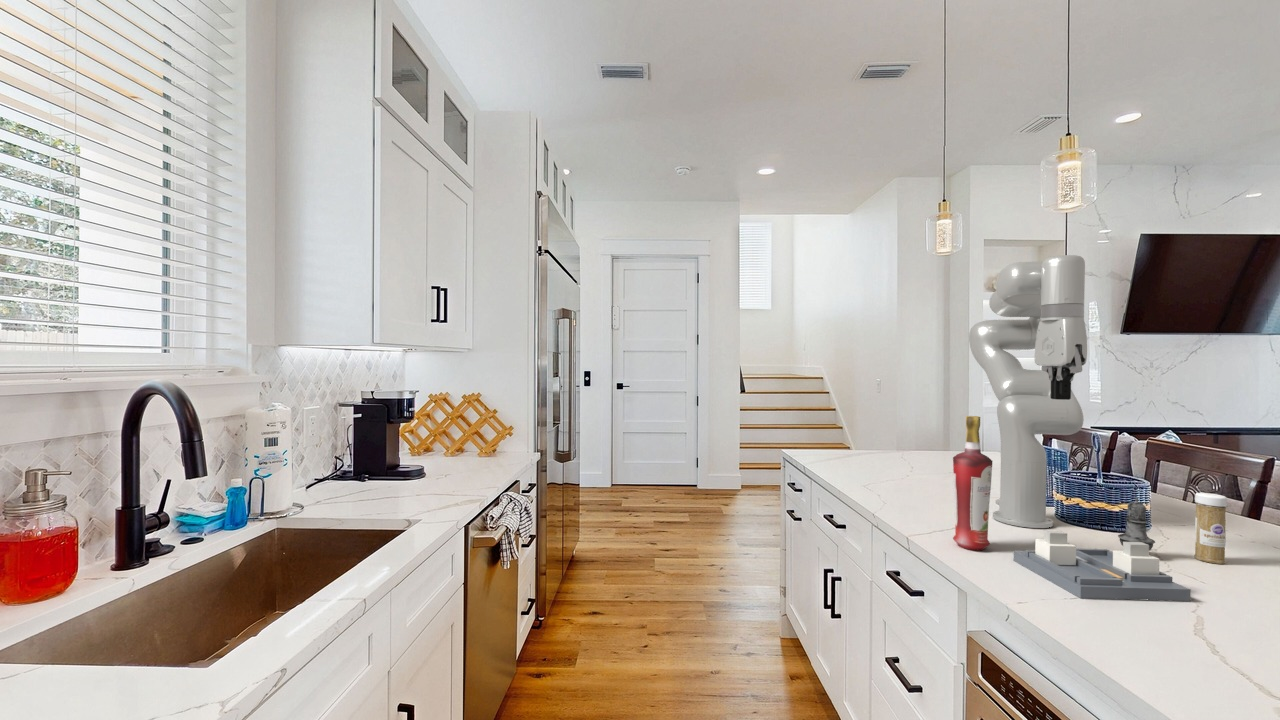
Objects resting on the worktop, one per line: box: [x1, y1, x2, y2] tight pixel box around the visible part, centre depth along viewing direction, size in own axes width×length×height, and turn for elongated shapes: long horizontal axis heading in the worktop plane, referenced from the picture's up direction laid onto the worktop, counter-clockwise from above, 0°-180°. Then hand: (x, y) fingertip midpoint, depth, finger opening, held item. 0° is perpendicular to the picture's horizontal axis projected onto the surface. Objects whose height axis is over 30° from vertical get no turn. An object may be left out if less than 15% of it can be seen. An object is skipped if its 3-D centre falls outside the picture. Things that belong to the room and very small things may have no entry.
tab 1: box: [1034, 530, 1077, 565], centre depth 107 cm, size 4×5×6 cm
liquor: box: [952, 415, 993, 551], centre depth 122 cm, size 7×7×28 cm
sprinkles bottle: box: [1193, 492, 1228, 565], centre depth 115 cm, size 5×5×14 cm
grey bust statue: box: [1117, 497, 1156, 552], centre depth 118 cm, size 6×6×12 cm
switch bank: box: [1013, 547, 1192, 602], centre depth 104 cm, size 18×18×3 cm
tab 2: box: [1112, 542, 1160, 575], centre depth 101 cm, size 4×5×6 cm
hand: (1060, 399), depth 122 cm, fingers closed
